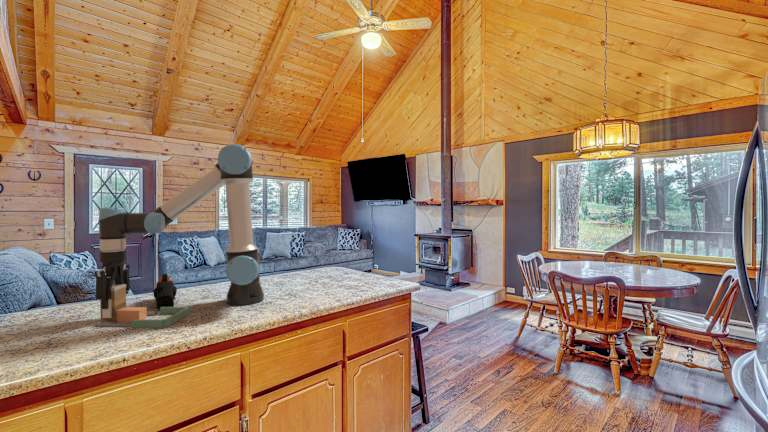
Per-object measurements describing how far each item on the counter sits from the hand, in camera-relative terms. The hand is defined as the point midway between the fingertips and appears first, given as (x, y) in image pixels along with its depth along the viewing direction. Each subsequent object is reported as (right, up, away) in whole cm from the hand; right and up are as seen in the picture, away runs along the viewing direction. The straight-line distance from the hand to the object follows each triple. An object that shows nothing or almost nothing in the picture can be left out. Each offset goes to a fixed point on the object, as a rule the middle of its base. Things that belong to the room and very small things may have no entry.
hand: (113, 314), depth 127 cm
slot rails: (+5, -2, 0) cm, 6 cm away
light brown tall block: (0, -2, 0) cm, 2 cm away
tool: (+6, -2, +19) cm, 21 cm away
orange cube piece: (+8, -2, 0) cm, 9 cm away
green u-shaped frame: (+17, -2, 0) cm, 17 cm away
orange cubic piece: (+4, -2, 0) cm, 5 cm away
